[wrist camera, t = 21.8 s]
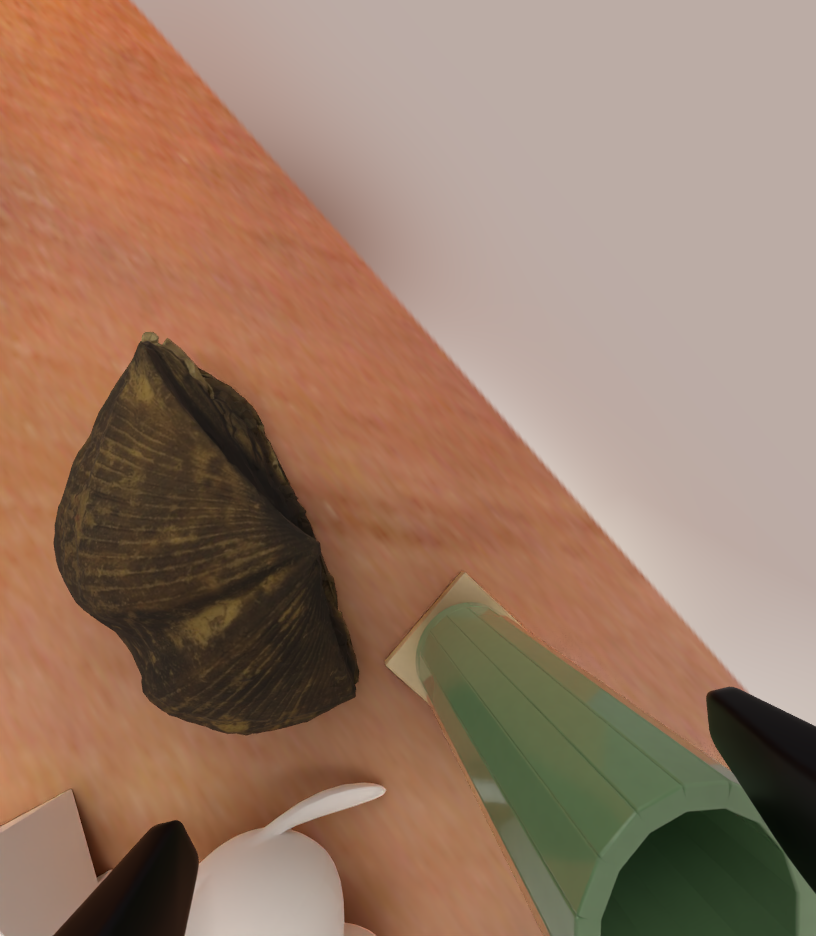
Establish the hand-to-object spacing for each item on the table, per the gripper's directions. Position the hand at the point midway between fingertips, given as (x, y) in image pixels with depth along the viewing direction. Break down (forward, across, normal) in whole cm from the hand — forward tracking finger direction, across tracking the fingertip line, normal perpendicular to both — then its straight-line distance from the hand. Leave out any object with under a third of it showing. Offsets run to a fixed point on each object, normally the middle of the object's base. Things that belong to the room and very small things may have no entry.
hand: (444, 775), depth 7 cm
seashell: (+12, +8, 0) cm, 15 cm away
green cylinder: (+12, -1, +7) cm, 14 cm away
